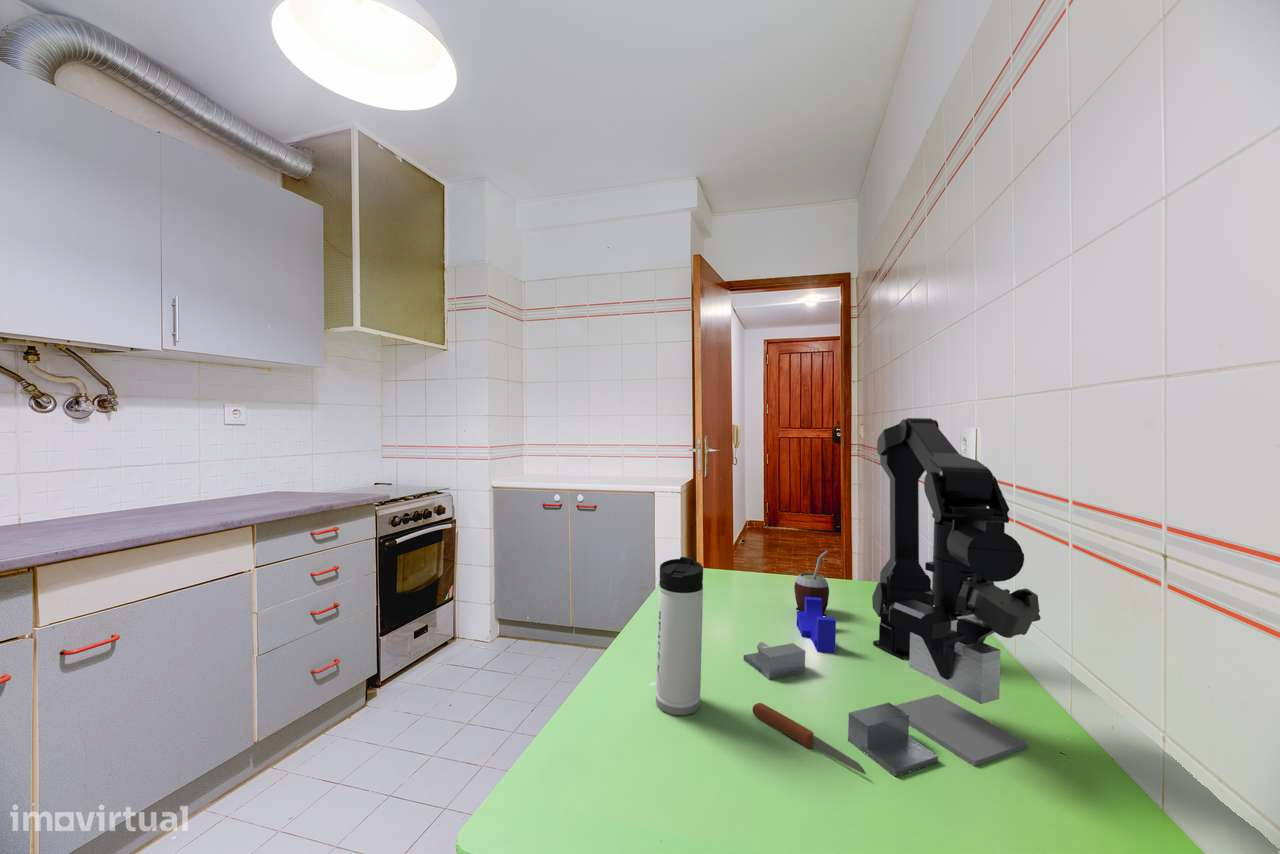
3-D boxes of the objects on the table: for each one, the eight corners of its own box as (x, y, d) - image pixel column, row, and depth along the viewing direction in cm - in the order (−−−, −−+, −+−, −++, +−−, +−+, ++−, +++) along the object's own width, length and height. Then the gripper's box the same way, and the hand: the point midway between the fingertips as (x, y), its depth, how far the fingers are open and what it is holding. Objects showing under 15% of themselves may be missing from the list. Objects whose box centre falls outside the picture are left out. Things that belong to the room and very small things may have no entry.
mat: (937, 698, 73) (937, 694, 73) (1027, 747, 62) (1027, 742, 62) (888, 711, 69) (888, 707, 69) (974, 766, 58) (974, 761, 58)
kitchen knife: (751, 716, 67) (751, 702, 67) (757, 713, 68) (758, 699, 68) (862, 784, 55) (863, 766, 55) (868, 779, 56) (869, 761, 56)
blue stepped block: (796, 625, 100) (797, 596, 100) (819, 627, 99) (820, 597, 99) (808, 652, 88) (809, 618, 88) (835, 654, 87) (835, 620, 87)
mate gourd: (799, 605, 111) (801, 538, 111) (836, 613, 107) (838, 544, 107) (788, 614, 105) (790, 544, 105) (826, 624, 100) (828, 550, 101)
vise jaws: (777, 653, 86) (777, 633, 86) (938, 762, 59) (938, 733, 59) (743, 659, 84) (744, 639, 84) (895, 777, 56) (896, 746, 56)
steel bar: (926, 662, 71) (927, 620, 71) (999, 698, 62) (1000, 649, 62) (909, 666, 70) (910, 623, 70) (981, 704, 61) (982, 654, 61)
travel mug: (704, 695, 72) (708, 559, 72) (694, 720, 66) (698, 571, 66) (663, 687, 74) (667, 554, 74) (650, 710, 68) (653, 565, 68)
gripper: (972, 584, 55) (968, 724, 55) (1070, 569, 62) (1067, 693, 62) (887, 558, 65) (884, 676, 65) (980, 548, 72) (977, 655, 72)
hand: (954, 675), depth 66 cm, fingers closed on steel bar, 3 cm apart
